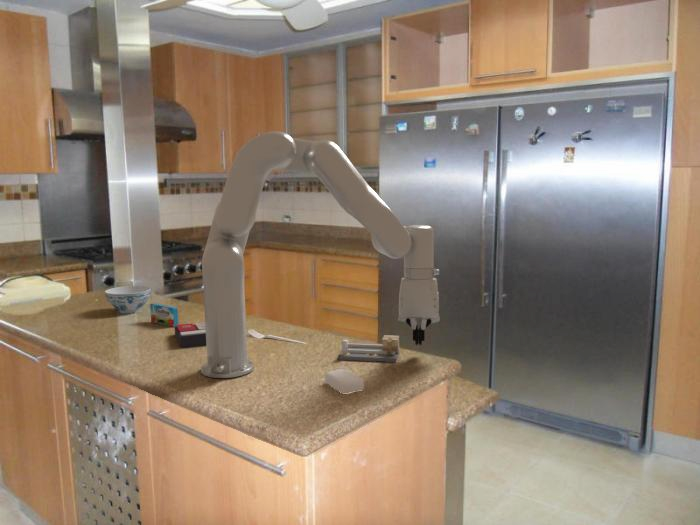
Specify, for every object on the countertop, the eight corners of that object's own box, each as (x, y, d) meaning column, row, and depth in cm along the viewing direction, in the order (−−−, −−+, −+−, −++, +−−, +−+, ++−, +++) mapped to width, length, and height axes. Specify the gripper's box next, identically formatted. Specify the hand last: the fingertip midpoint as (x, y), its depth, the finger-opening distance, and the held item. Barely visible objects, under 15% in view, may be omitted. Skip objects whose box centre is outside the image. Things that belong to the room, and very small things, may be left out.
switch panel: (396, 362, 147) (396, 345, 146) (337, 359, 149) (337, 342, 149) (399, 351, 156) (399, 335, 155) (344, 349, 158) (343, 333, 157)
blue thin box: (178, 326, 184) (177, 307, 183) (174, 327, 183) (173, 308, 182) (155, 321, 191) (153, 302, 190) (151, 322, 190) (150, 303, 189)
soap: (324, 384, 133) (323, 371, 132) (345, 379, 135) (345, 367, 135) (343, 397, 125) (343, 383, 125) (365, 392, 128) (365, 379, 127)
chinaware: (135, 304, 216) (134, 284, 214) (160, 310, 207) (159, 288, 206) (97, 312, 204) (96, 290, 202) (122, 318, 195) (121, 295, 194)
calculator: (211, 320, 178) (220, 329, 164) (212, 334, 178) (220, 344, 165) (174, 324, 174) (179, 333, 160) (175, 338, 174) (180, 349, 160)
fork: (303, 347, 163) (303, 341, 162) (246, 337, 172) (246, 331, 172) (309, 344, 166) (309, 338, 165) (253, 334, 175) (253, 328, 175)
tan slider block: (396, 356, 148) (396, 342, 147) (381, 355, 149) (381, 342, 148) (399, 348, 154) (399, 335, 154) (384, 347, 155) (384, 335, 155)
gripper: (448, 271, 151) (448, 340, 154) (390, 271, 154) (391, 338, 156) (448, 276, 144) (447, 348, 146) (387, 276, 146) (388, 346, 149)
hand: (418, 343), depth 151 cm, fingers closed
